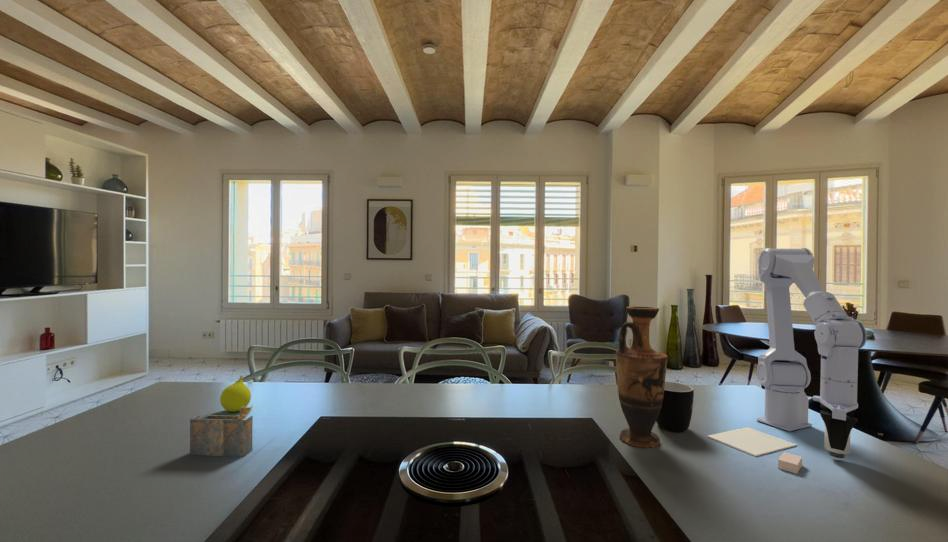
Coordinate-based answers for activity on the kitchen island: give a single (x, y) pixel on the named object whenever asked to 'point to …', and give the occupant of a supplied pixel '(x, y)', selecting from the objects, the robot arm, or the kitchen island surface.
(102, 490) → the kitchen island surface
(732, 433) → the paper
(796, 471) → the eraser
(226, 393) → the yellow rounded piece
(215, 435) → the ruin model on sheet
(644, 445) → the vase
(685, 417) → the mug
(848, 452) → the white and green cylinder
